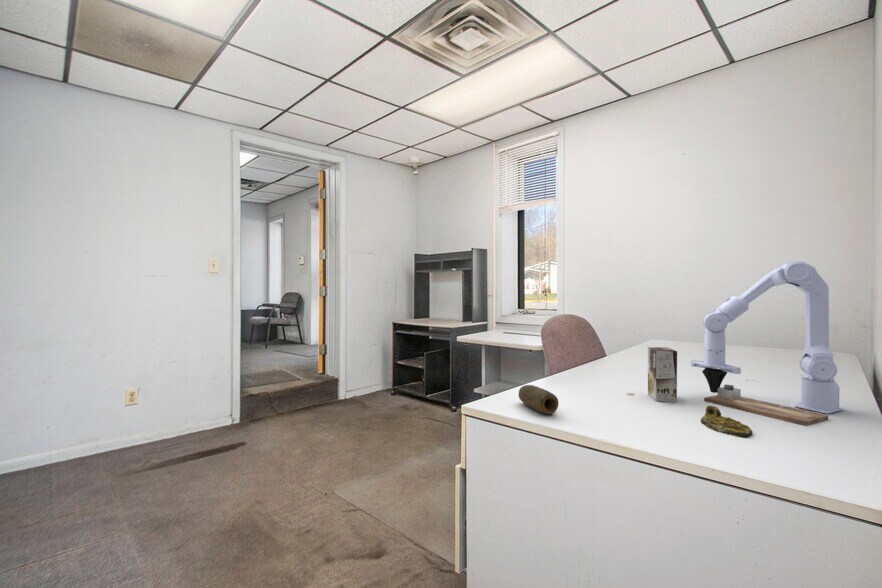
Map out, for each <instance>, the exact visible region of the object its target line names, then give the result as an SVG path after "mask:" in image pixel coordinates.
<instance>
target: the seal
mask: <svg viewBox="0 0 882 588" xmlns="http://www.w3.org/2000/svg"><path fill="white" fill-rule="evenodd" d="M700 422H701V424H702V425H703V424H704V425H703V426H705V425H706V428H708V429H711V430H712V429H713V430H712V431H714V432H715V431H716V432H718V433H721V432H722V433H721V434H725V433H726V434H725V435H729V434H731V435H730V436H733V435H735V437H738V436H739V438H748V437H750V436H753V431H752V429H751V427H750V426H749V425H746V424H744V423H742V422H741V421H739V420H735V419H733V418H731V417H727V416H723V415H722V413H721V410H720V409H719V408H718V407H717V406H713V405H710V404H709V405H707V406H706V407H705V414H704V415H703V416H702V417H701V418H700Z"/></svg>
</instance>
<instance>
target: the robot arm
mask: <svg viewBox="0 0 882 588" xmlns="http://www.w3.org/2000/svg"><path fill="white" fill-rule="evenodd" d="M785 284H787V285H788V284H789V285H790V286H791V285H792V286H794V287H796V288H798V289H799V290H800V291H802V292H803V293H805V346H804V348H803V355H802V357H801V358H800V360H799V367H800V369H801V370H802V371H803V373H802V374H801V375H800V376H801V379H800V380H801V382H800V384H801V385H800V386H801V387H800V389H801V390H800V403H797V404H794V408H797V409H802V410H804V409H805V410H806V411H811V412H816V413H820V414H825V415H828V414H829V415H830V414H832V413H837V412H839V411H844V408H843V407H841V406H840V386H839V384H838V383H837V381H836V379H835V377H836V376H837V374H838V367H837V365H836V363H835V362H834V355H833V352H832V351H831V349H830V313H829V312H830V308H829V307H830V305H829V304H830V303H829V301H830V299H829V294H830V293H829V291H830V290H829V289H830V288H829V285H828V284H827V282H826V281H825V280H824V279H823V277H822V276H821V275H820V273H818V271H817V269H816V267H815V266H812V265H810V264H809V263H807V262H806V261H805V262H804V261H801V260H795V261H791V262H785V263H783V264H781V265H780V266H778V268H775V269H772V271H770V272H768V273H767V274H765V275H764V276H763V277H762V278H760V279H759V280H758V281H757V282H756V283H754V284H753V285H752V286H750V287H749V288H748V289H747V290H746V291H745V292H743V293H742V294H741V295H739V296H738V295H733V296H731V297H727V298H725V299H724V301H725V302H723V303H722V304H720V305H719V306H718V307H717V308H713V309H712V310H711V311H712V312H713V313H712V312H711V313H708V314H707V315H706V316H704V320H702V324H703V326H704V327H705V328H704V336H703V339H704V340H703V341H704V342H703V343H704V345H703V355H704V356H703V357H704V359H703V361H702V360H695V359H694V360H693V359H692V360H690V366H691V367H695V368H696V367H697V368H702V369H703V370H702V374H703V376H704V377H705V379H706V381H707V385H708V386H709V387H708V388H709V391H710V393H713V394H716V393H717V388H721V385H722V383H723V380H724V379H725V378H726V376H727V374H728V373H731V374H734V375H739V374H742V373H741V372H742V371H741V369H742V368H741V367H739V366H734V365H730V364H726V335H725V334H726V333H725V330H726V329H727V327H728V323H732V322H733V321H735V320H736V319H738V318H739V317H740V316H741V315H743V314H744V313H746V312H747V311H748V310H749V305H750V303H752V302H753V301H754V300H756V299H757V298H759V297H760V296H761V295H763V294H764V293H766V292H767V291H768V290H770V289H771V288H773V287H775V286H776V287H777V286H782V285H785Z"/></svg>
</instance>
